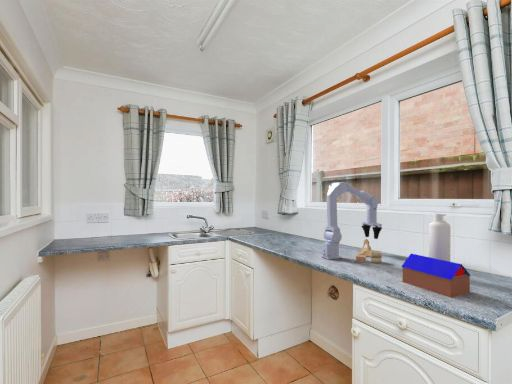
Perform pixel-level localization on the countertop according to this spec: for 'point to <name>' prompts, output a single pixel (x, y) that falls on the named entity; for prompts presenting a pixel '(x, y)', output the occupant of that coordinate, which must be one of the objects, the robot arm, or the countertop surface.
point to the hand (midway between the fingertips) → (371, 237)
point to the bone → (365, 249)
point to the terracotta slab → (360, 258)
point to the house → (436, 275)
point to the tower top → (376, 254)
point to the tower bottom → (376, 260)
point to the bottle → (439, 238)
